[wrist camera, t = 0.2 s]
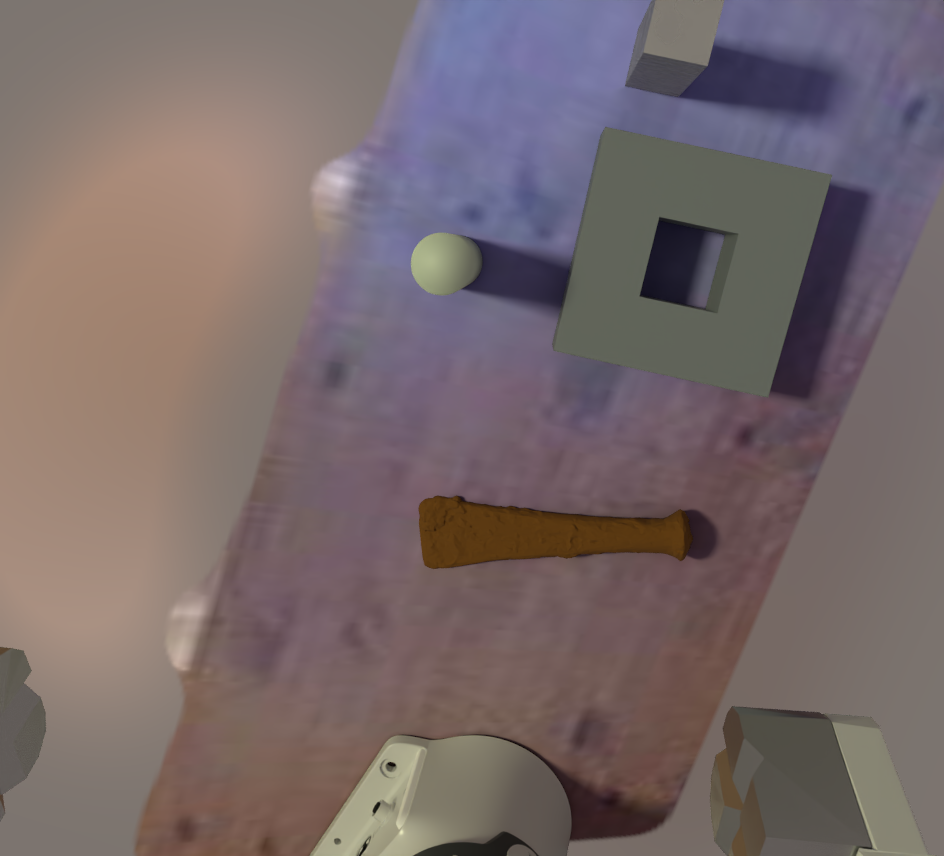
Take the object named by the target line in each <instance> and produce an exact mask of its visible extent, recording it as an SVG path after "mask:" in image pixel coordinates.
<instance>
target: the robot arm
mask: <svg viewBox="0 0 944 856" xmlns="http://www.w3.org/2000/svg"><path fill="white" fill-rule="evenodd" d="M30 673H31V668H30V666H29V663H28V661H27V658H26V656H25V653H24V651H22V650H17V649H13V648H4V647H0V821H1V819H2V818H3V816H4V814H5V808H4V801H3V794H4V793H6V792H7V791H9V790H10V789H12V788H13V787H14V786H16V785H17V784H19V783H20V782H22V781H23V780H25V779H26V778H27V776H28V774H29V772H30V771H31V769H32V767H33V765H34V764H35V762H36V760H37V758H38V757H39V753H40V750H41V746H42V743H43V739H44V735H45V732H46V722H45V721H46V720H45V709H44V706H43V703H42V700H41V697H40V696H38V695H37V694H36V693H35V692H33V691H32V690H31V689H30V688H29V687H28V686H27V685H25V684H24V681H25V680H26V679H27V677H28V676H29V674H30ZM723 732H724V738H725V743H726V749H724V750H723V751H721V752H720V753H718V754H717V755H716V757H715V761H714V766H713V770H712V775H711V792H710V807H711V820H712V827H713V833H714V840H715V842H716V843H717V845H718V846H719V847H720V848H721V849H722V851H723V852H724V853H725V854H726V855H727V856H936V855H929V853H928V850H927V847H926V845H925V842H924V840H923V837H922V835H921V832H920V829H919V827H918V824H917V822H916V819H915V817H914V814H913V811H912V809H911V806H910V804H909V801H908V799H907V797H906V794H905V791H904V788H903V786H902V783H901V781H900V778H899V776H898V773H897V771H896V768H895V765H894V763H893V760H892V758H891V755H890V753H889V750H888V747H887V745H886V742H885V740H884V737H883V735H882V732H881V730H880V727H879V725H878V724H877V723H876V722H875V721H874V720H873V719H872V717H864V716H851V715H837V714H826V713H825V714H821V713H819V712H805V711H791V710H778V709H763V708H748V707H735V706H732V707H731V709H730V710H729V711H728V713H727V715H726V719H725V722H724V726H723ZM388 762H394V763H395V764H396V766H394V767H392V766H389V765H388ZM571 825H572V821H571V810H570V805H569V802H568V798H567V796H566V793H565V791H564V789H563V787H562V785H561V783H560V781H559V780H558V778H557V777H556V775H555V774H554V773H553V772H552V770H551V769H550V768H549V767H548V766H547V765H546V764H545V763H544V762H543V761H542V760H540V759H539V758H538V757H537V756H535V755H534V754H532V753H531V752H529V751H528V750H526V749H524V748H522V747H521V746H518V745H516V744H514V743H511V742H509V741H506V740H502V739H499V738H494V737H489V736H479V735H468V736H457V737H452V738H446V739H440V740H427V739H423V738H418V737H412V736H404V735H398V736H394V737H392V738H390V739H389V740H388V741H387V742H386V743H385V744H384V746H383V747H382V749H381V750H380V752H379V753H378V755H377V756H376V758H375V759H374V761H373V762H372V764H371V765H370V767H369V768H368V770H367V771H366V773H365V774H364V776H363V777H362V779H361V780H360V782H359V783H358V784H357V786H356V787H355V789H354V790H353V792H352V793H351V795H350V796H349V798H348V799H347V801H346V802H345V804H344V805H343V807H342V808H341V810H340V811H339V813H338V814H337V816H336V817H335V819H334V820H333V822H332V823H331V825H330V826H329V828H328V829H327V830H326V832H325V833H324V835H323V836H322V838H321V839H320V841H319V842H318V844H317V845H316V847H315V848H314V850H313V851H312V853H311V854H310V856H566V855H567V850H568V845H569V840H570V835H571Z"/></svg>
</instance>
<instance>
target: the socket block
mask: <svg viewBox="0 0 944 856" xmlns="http://www.w3.org/2000/svg"><path fill="white" fill-rule="evenodd" d="M831 177H832V175H830V174H825V173H820V172H816V171H811V170H806V169H802V168H797V167H792V166H787V165H783V164H778V163H773V162H768V161H764V160H759V159H754V158H750V157H745V156H740V155H735V154H731V153H726V152H721V151H717V150H712V149H707V148H702V147H698V146H693V145H688V144H683V143H679V142H674V141H669V140H665V139H660V138H655V137H650V136H646V135H641V134H636V133H631V132H627V131H622V130H617V129H613V128H608V127H605V129H604V130H603V132H602V134H601V136H600V140H599V145H598V149H597V153H596V158H595V162H594V166H593V171H592V175H591V179H590V184H589V188H588V192H587V197H586V201H585V205H584V210H583V214H582V218H581V223H580V227H579V231H578V235H577V240H576V244H575V248H574V253H573V257H572V261H571V266H570V270H569V274H568V279H567V283H566V287H565V292H564V296H563V300H562V305H561V309H560V313H559V318H558V322H557V326H556V331H555V335H554V339H553V344H552V345H553V350H554V351H557V352H562V353H566V354H571V355H575V356H580V357H585V358H589V359H594V360H598V361H603V362H607V363H612V364H617V365H621V366H626V367H630V368H635V369H639V370H644V371H649V372H653V373H658V374H662V375H667V376H671V377H676V378H681V379H685V380H690V381H694V382H699V383H703V384H708V385H713V386H717V387H722V388H726V389H731V390H735V391H740V392H745V393H749V394H754V395H758V396H763V397H767V398H768V396H769V392H770V389H771V385H772V382H773V378H774V375H775V371H776V368H777V364H778V361H779V357H780V354H781V350H782V347H783V344H784V340H785V337H786V333H787V330H788V326H789V323H790V319H791V316H792V312H793V309H794V305H795V302H796V298H797V295H798V291H799V288H800V285H801V281H802V278H803V274H804V271H805V267H806V264H807V260H808V257H809V253H810V250H811V246H812V243H813V239H814V236H815V232H816V229H817V226H818V222H819V219H820V215H821V212H822V208H823V205H824V201H825V198H826V194H827V191H828V187H829V184H830V180H831ZM658 220H659V221H664V222H668V223H673V224H678V225H682V226H687V227H692V228H696V229H701V230H706V231H710V232H715V233H720V234H724V235H725V237H724V241H723V245H722V249H721V252H720V256H719V260H718V264H717V267H716V271H715V275H714V279H713V282H712V286H711V290H710V294H709V297H708V301H707V305H706V309H703V308H698V307H694V306H689V305H685V304H680V303H675V302H671V301H666V300H661V299H657V298H652V297H648V296H643V295H640V292H641V288H642V284H643V280H644V276H645V272H646V268H647V264H648V260H649V256H650V252H651V248H652V244H653V240H654V236H655V232H656V228H657V224H658Z"/></svg>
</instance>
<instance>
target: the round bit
mask: <svg viewBox="0 0 944 856" xmlns="http://www.w3.org/2000/svg"><path fill="white" fill-rule="evenodd" d="M482 264H483V259H482V254H481V251H480V249H479V247H478V246H477V244H476V243H475V242H474V241H472V240H471V239H470V238H468V237H465V236H461V235H455V234H448V233H435V234H431V235H429V236H427V237H425V238H424V239H423V240H421V241H420V242H419V243H418V245H417V246H416V248H415V249H414V252H413V254H412V259H411V269H412V273H413V276H414V278H415V280H416V282H417V283H418V284H419V285H420V286H421V287H422V288H423V289H424V290H426V291H427V292H429V293H432V294H435V295H448V294H452V293H454V292H456V291H458V290H460V289H462V288H464V287H465V286H467V285H469V284H471V283H472V282H473V281H474V280H475V279H476V278H477V277H478V276H479V274H480V272H481V269H482Z"/></svg>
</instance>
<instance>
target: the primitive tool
mask: <svg viewBox="0 0 944 856" xmlns="http://www.w3.org/2000/svg"><path fill="white" fill-rule="evenodd" d="M419 514H420V518H419V528H420V537H421V547H422V555H423V560H424V564H425V566H427V567H429V568H433V569H437V568H450V567H456V566H463V565H468V564H475V563H480V562H486V561H493V560H508V559H530V558H540V557H555V556H559V557H563V558H572V557H576V556H577V555H581V554H602V553H605V552H612V553H616V552H632V553H633V552H637V553H641V552H647V553H664V554H668V555H671V556H673V557H675V558H677V559H678V560H679V561H682V560H683V559H685V557H686V554H687V552H688V551H689V549H690V544H691V542H692V540H693V536H692V534H691V532H690V526H689V524H688V522H689V521H690V520H689V519H688V517H687V515H686V513H685V512H684V511H682V510H678V511H676V512H675V513H674V514H672V515H670V516H668V517H667V518H664V519H659V518H653V519H644V518H613V517H595V516H583V515H578V514H560V513H550V512H541V511H533V510H530V509H527V508H516V507H513V506H509V507H502V506H490V505H486V504H477V503H472V502H464V501H462V500H461V498H460V497H458V496H455V497H452V498H446V497H442V496H435V497H434V498H428V499H425V500H423V501H422V502H421V503H420V506H419Z"/></svg>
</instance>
